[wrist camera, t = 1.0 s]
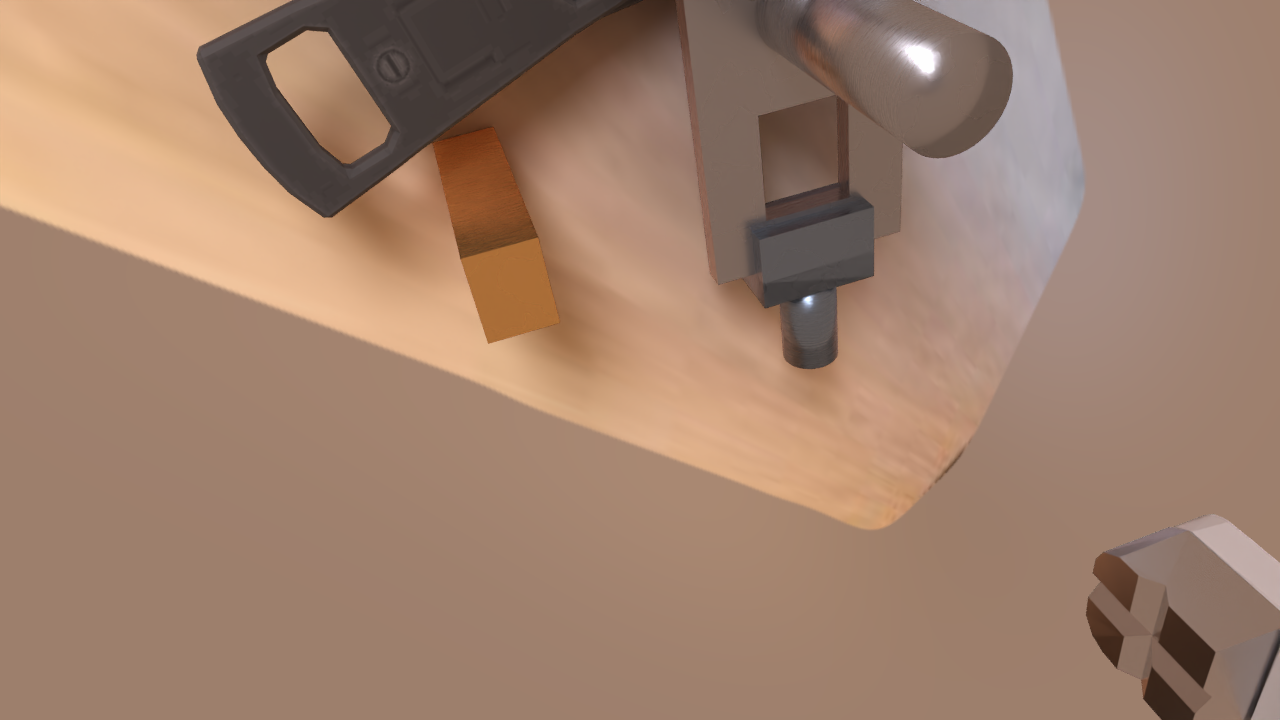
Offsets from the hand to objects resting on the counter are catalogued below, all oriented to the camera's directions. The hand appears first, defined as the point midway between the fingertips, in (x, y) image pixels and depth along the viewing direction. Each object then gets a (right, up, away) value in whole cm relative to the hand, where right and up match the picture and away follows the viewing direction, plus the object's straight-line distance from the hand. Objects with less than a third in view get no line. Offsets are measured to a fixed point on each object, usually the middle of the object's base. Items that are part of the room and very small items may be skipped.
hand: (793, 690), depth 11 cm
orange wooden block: (-10, +13, +33) cm, 37 cm away
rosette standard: (+4, +16, +36) cm, 40 cm away
